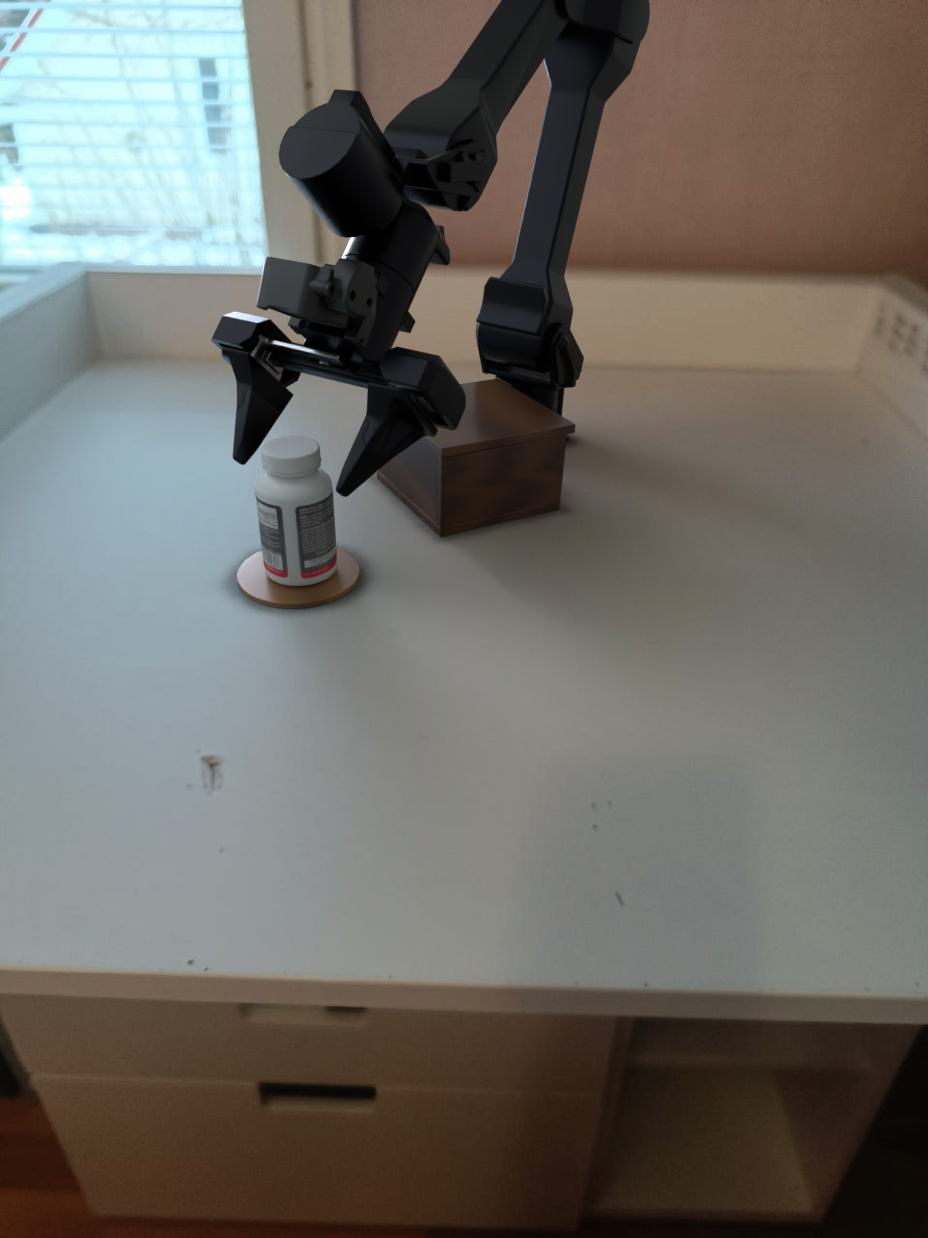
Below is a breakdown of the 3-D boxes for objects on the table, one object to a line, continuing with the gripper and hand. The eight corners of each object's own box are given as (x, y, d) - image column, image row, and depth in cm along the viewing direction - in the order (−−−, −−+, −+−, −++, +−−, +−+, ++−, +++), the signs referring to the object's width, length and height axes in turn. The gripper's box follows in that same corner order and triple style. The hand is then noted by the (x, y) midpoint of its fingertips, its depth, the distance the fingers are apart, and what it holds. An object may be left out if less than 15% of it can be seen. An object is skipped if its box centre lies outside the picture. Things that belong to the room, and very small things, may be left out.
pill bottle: (338, 551, 68) (331, 430, 62) (337, 587, 63) (329, 461, 58) (267, 553, 67) (253, 431, 62) (261, 590, 63) (246, 462, 57)
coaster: (333, 537, 70) (333, 532, 70) (379, 590, 64) (379, 585, 64) (222, 561, 67) (221, 557, 66) (259, 620, 60) (258, 615, 60)
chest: (486, 456, 85) (489, 387, 81) (559, 509, 76) (567, 434, 72) (376, 477, 80) (374, 405, 76) (440, 537, 71) (441, 458, 67)
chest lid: (497, 386, 81) (497, 377, 81) (575, 433, 72) (576, 423, 72) (374, 405, 76) (374, 396, 76) (441, 458, 67) (441, 448, 67)
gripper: (211, 187, 59) (112, 393, 57) (446, 220, 51) (339, 460, 49) (298, 286, 69) (215, 464, 67) (505, 326, 61) (417, 529, 59)
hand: (287, 477), depth 61 cm, fingers open, 9 cm apart
